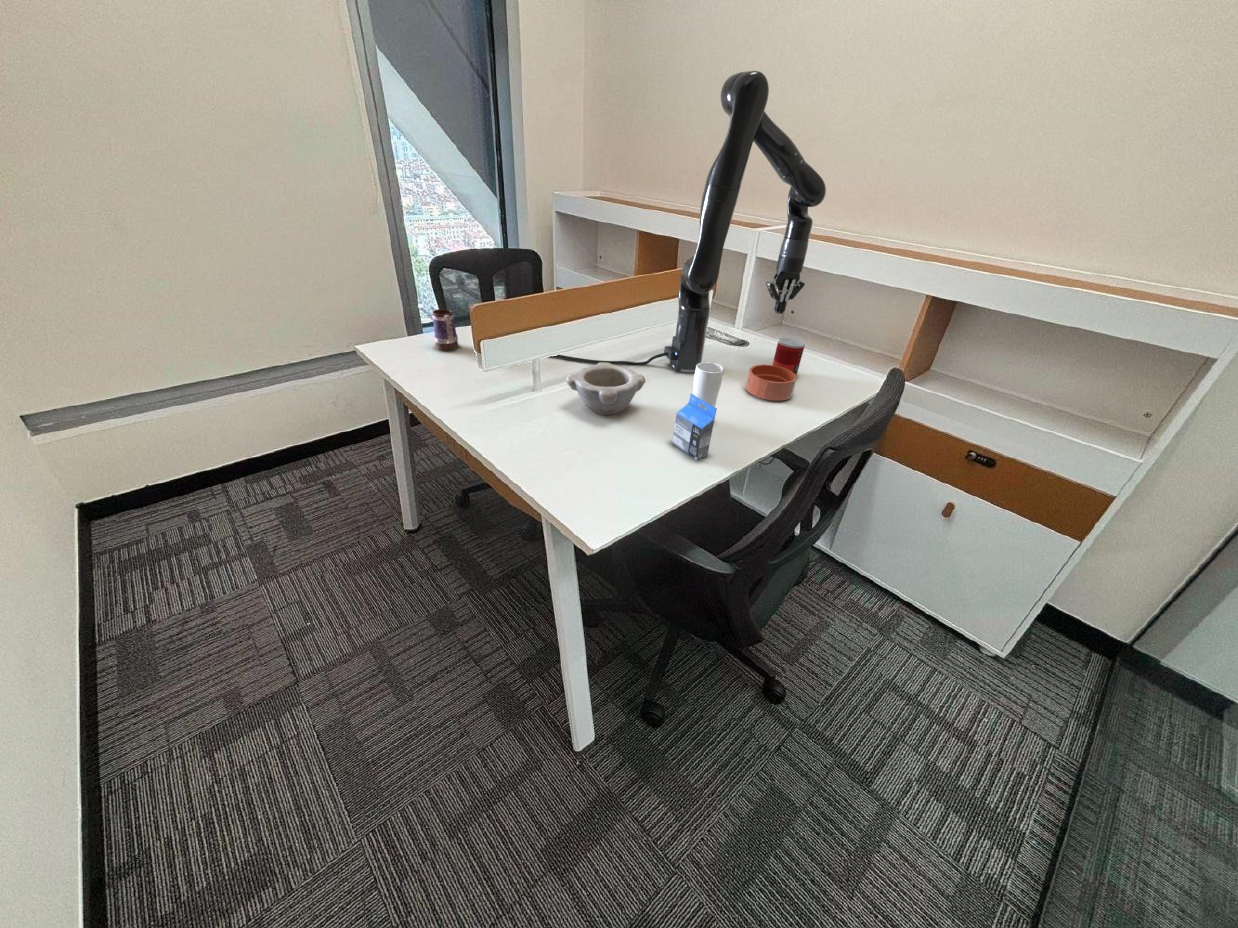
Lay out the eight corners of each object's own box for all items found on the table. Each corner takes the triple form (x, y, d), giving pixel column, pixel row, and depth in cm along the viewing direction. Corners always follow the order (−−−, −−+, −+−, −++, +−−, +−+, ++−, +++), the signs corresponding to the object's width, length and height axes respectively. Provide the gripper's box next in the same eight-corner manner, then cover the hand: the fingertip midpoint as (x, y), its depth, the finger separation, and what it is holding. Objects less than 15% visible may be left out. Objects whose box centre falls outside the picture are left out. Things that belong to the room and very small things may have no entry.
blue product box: (671, 443, 119) (677, 396, 112) (683, 439, 120) (690, 392, 114) (696, 460, 113) (704, 412, 106) (708, 456, 115) (717, 408, 108)
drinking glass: (707, 430, 125) (717, 375, 117) (683, 422, 128) (691, 367, 119) (717, 420, 130) (728, 366, 121) (694, 412, 132) (702, 359, 124)
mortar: (560, 405, 131) (560, 373, 126) (604, 388, 142) (606, 357, 137) (605, 429, 122) (607, 396, 117) (649, 408, 133) (652, 377, 128)
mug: (433, 345, 162) (428, 308, 155) (455, 342, 165) (451, 306, 158) (440, 356, 155) (435, 317, 148) (463, 353, 158) (459, 315, 151)
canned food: (797, 381, 155) (806, 347, 149) (771, 377, 156) (779, 344, 150) (794, 372, 161) (803, 339, 155) (769, 368, 162) (777, 336, 156)
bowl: (761, 404, 139) (766, 384, 136) (737, 384, 150) (740, 366, 147) (800, 400, 143) (806, 380, 140) (774, 381, 154) (779, 362, 151)
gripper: (803, 251, 152) (789, 308, 162) (766, 252, 148) (754, 310, 158) (818, 257, 146) (803, 315, 156) (780, 257, 142) (767, 317, 152)
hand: (778, 312), depth 157 cm, fingers closed
